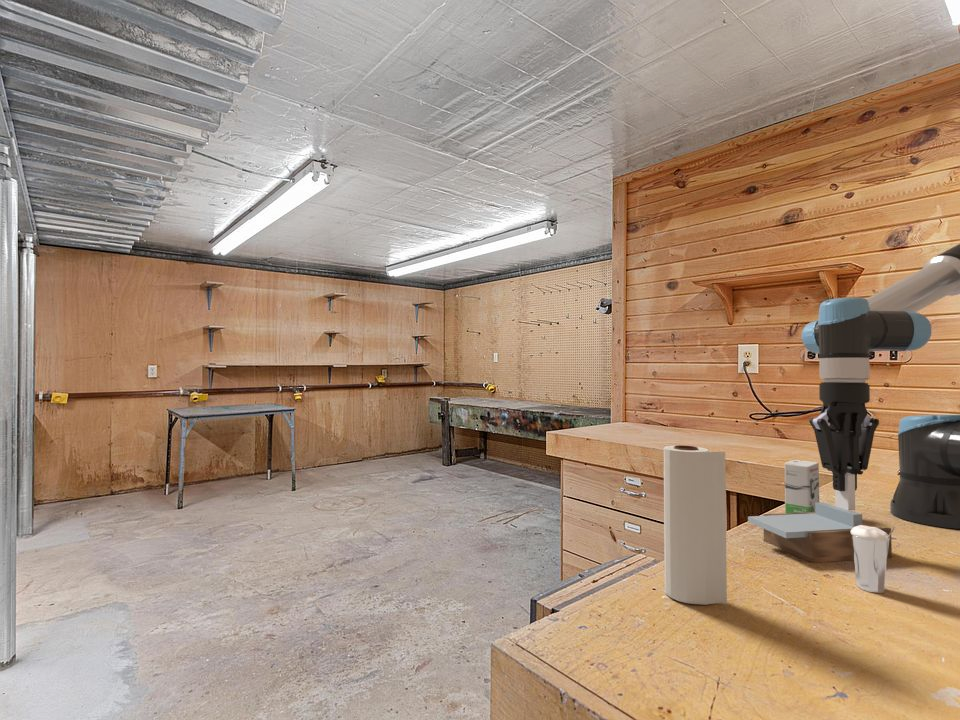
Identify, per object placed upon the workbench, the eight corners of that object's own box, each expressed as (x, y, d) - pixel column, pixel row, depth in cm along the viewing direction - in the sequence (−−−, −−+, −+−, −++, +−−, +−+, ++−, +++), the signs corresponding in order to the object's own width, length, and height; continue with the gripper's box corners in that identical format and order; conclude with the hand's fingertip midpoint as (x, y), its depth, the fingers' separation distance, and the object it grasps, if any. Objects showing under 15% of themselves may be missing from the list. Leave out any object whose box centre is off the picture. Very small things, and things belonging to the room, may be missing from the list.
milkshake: (888, 600, 68) (886, 529, 69) (845, 585, 73) (844, 519, 73) (903, 593, 70) (902, 524, 71) (860, 579, 75) (859, 515, 75)
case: (835, 536, 95) (835, 510, 95) (891, 557, 84) (891, 528, 85) (763, 540, 93) (763, 514, 93) (811, 562, 82) (811, 533, 82)
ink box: (809, 520, 106) (808, 466, 106) (783, 515, 110) (783, 463, 110) (820, 512, 112) (819, 461, 112) (795, 508, 115) (795, 458, 116)
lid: (821, 518, 94) (821, 501, 94) (866, 533, 85) (866, 515, 85) (747, 521, 91) (747, 504, 91) (786, 538, 82) (785, 519, 82)
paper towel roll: (655, 590, 71) (654, 445, 72) (687, 583, 73) (685, 443, 74) (693, 613, 65) (692, 452, 65) (727, 605, 67) (725, 450, 67)
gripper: (855, 381, 95) (856, 501, 94) (796, 380, 93) (797, 504, 92) (893, 381, 88) (895, 512, 87) (831, 381, 85) (832, 515, 85)
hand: (845, 508), depth 90 cm, fingers closed
